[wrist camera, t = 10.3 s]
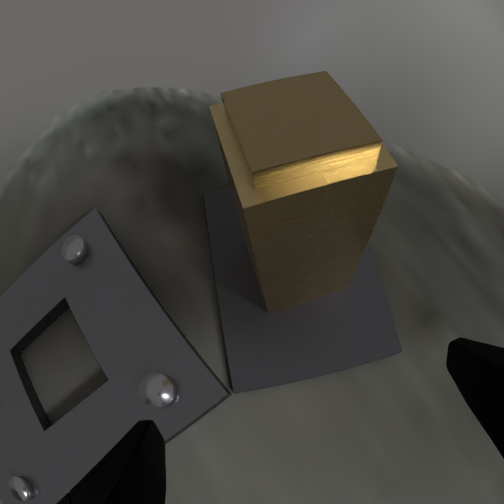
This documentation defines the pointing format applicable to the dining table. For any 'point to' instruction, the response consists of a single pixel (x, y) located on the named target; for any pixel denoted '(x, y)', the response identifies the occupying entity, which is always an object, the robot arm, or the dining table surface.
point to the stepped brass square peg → (302, 183)
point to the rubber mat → (291, 314)
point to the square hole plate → (108, 356)
